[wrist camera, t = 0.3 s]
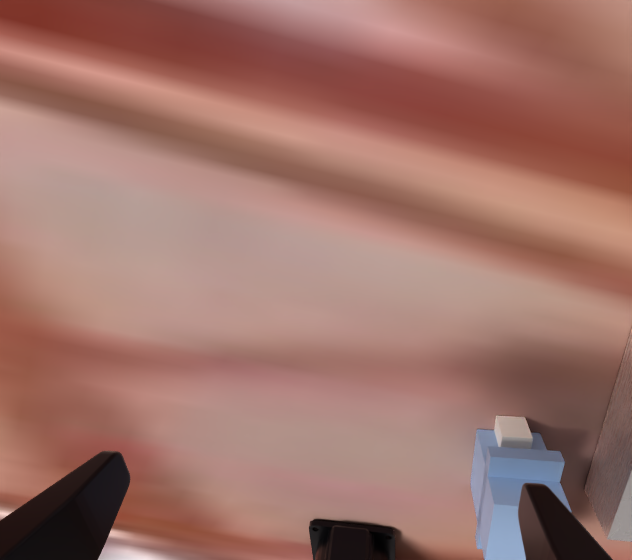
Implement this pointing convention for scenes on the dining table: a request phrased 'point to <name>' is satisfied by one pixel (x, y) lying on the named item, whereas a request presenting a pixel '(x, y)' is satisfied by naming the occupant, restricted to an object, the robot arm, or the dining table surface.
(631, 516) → the mount plate
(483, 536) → the block
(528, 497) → the robot arm
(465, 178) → the dining table surface
